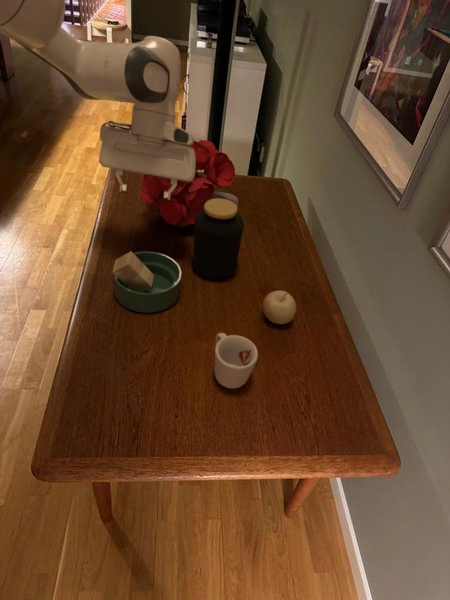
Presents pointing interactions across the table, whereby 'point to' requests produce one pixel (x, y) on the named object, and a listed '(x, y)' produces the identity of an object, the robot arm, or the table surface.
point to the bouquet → (191, 186)
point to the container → (217, 238)
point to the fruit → (279, 307)
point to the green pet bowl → (162, 287)
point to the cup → (234, 360)
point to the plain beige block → (133, 273)
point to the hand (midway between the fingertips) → (144, 196)
